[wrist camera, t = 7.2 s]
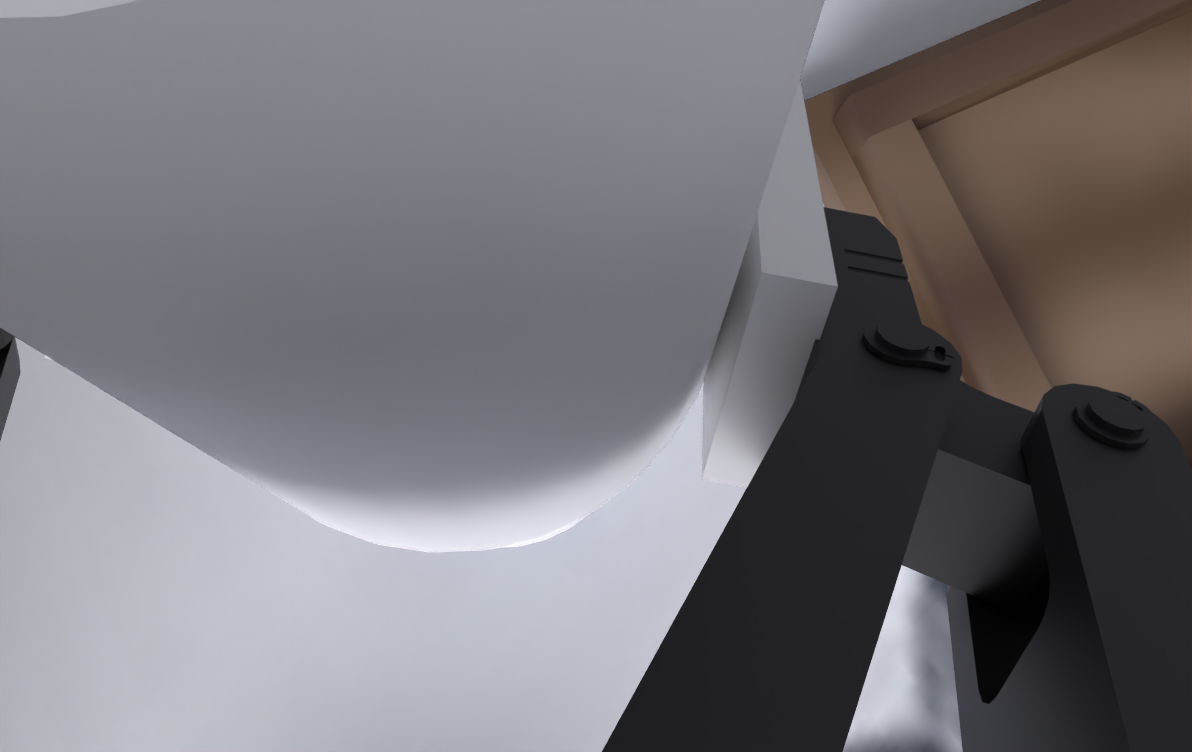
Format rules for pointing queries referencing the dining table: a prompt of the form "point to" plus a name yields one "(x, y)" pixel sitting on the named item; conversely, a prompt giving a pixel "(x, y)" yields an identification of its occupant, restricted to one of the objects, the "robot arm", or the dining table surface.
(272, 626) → the dining table surface
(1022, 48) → the walnut stand
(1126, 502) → the robot arm
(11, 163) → the champagne flute
